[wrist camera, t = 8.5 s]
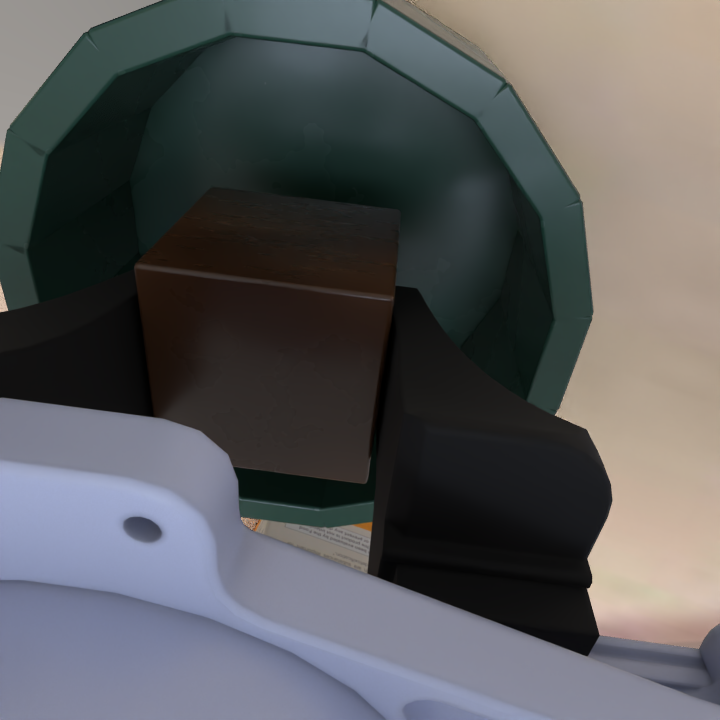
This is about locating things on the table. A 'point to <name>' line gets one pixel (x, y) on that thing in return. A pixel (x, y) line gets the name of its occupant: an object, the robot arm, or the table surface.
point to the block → (273, 328)
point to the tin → (307, 178)
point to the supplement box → (325, 540)
